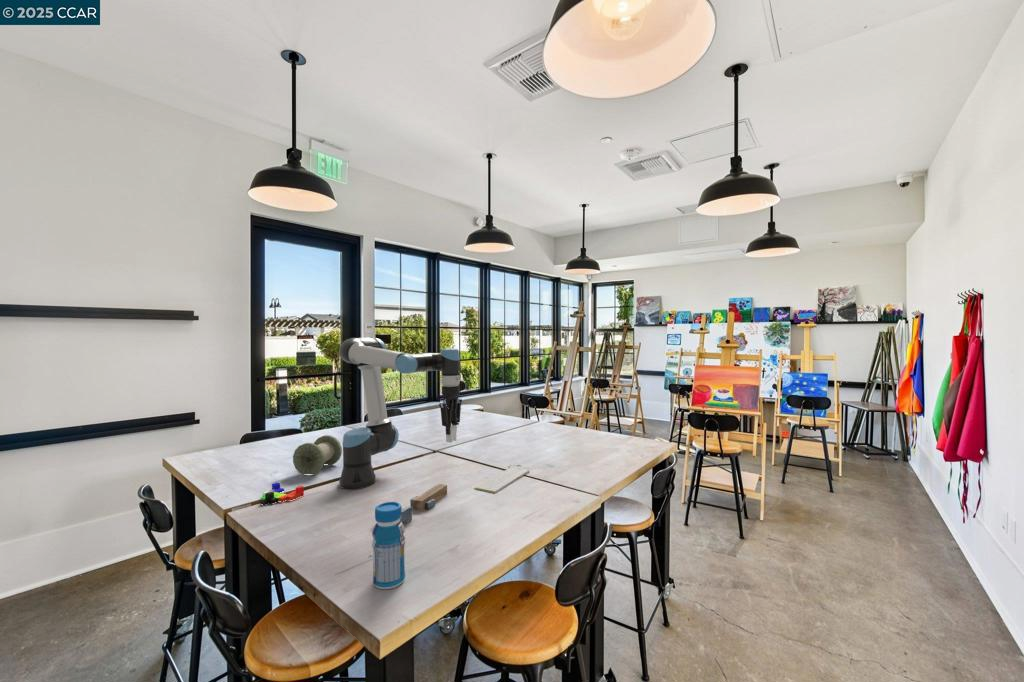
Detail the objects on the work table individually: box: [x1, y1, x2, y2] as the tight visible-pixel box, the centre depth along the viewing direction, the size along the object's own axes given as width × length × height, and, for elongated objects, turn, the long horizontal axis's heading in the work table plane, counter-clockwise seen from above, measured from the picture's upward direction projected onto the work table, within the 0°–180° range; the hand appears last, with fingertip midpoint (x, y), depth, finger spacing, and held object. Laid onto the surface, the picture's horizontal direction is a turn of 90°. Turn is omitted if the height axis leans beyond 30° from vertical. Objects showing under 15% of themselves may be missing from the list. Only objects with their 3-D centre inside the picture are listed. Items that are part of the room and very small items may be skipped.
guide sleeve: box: [409, 495, 436, 511], centre depth 161 cm, size 8×4×2 cm, turn 63°
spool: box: [292, 434, 343, 475], centre depth 206 cm, size 16×15×15 cm
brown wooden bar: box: [412, 483, 448, 512], centre depth 166 cm, size 4×18×4 cm, turn 158°
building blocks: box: [260, 481, 305, 506], centre depth 169 cm, size 15×13×4 cm
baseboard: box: [473, 465, 530, 494], centre depth 190 cm, size 31×3×12 cm
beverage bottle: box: [371, 501, 406, 590], centre depth 112 cm, size 8×8×20 cm
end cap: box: [400, 505, 413, 525], centre depth 148 cm, size 8×8×4 cm
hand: (451, 441), depth 178 cm, fingers open, 2 cm apart
